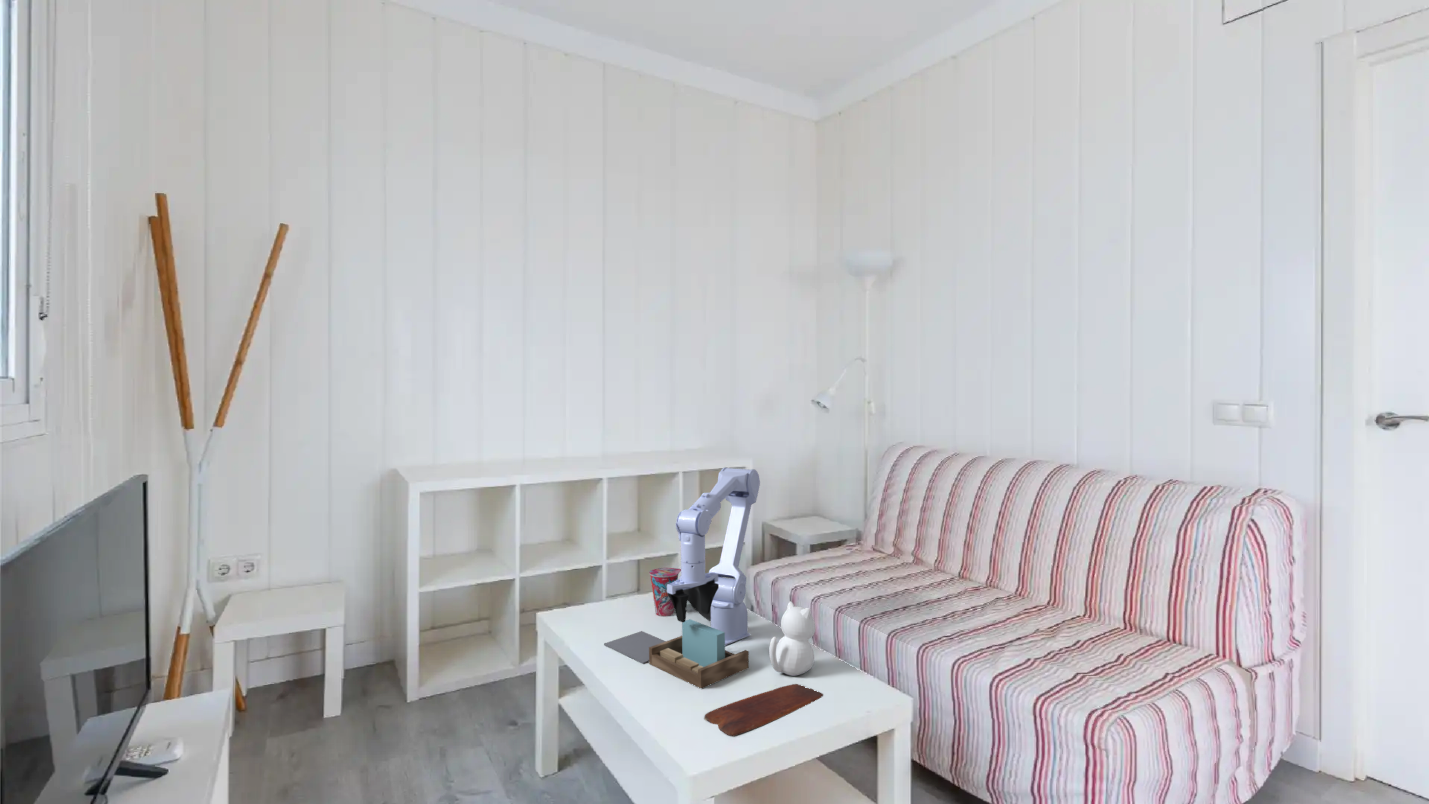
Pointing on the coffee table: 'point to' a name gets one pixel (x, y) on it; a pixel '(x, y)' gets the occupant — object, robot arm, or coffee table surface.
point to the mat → (635, 645)
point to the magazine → (696, 601)
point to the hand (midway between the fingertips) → (693, 617)
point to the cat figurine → (794, 642)
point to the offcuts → (680, 659)
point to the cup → (663, 589)
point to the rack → (705, 674)
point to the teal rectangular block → (702, 643)
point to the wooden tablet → (761, 709)
